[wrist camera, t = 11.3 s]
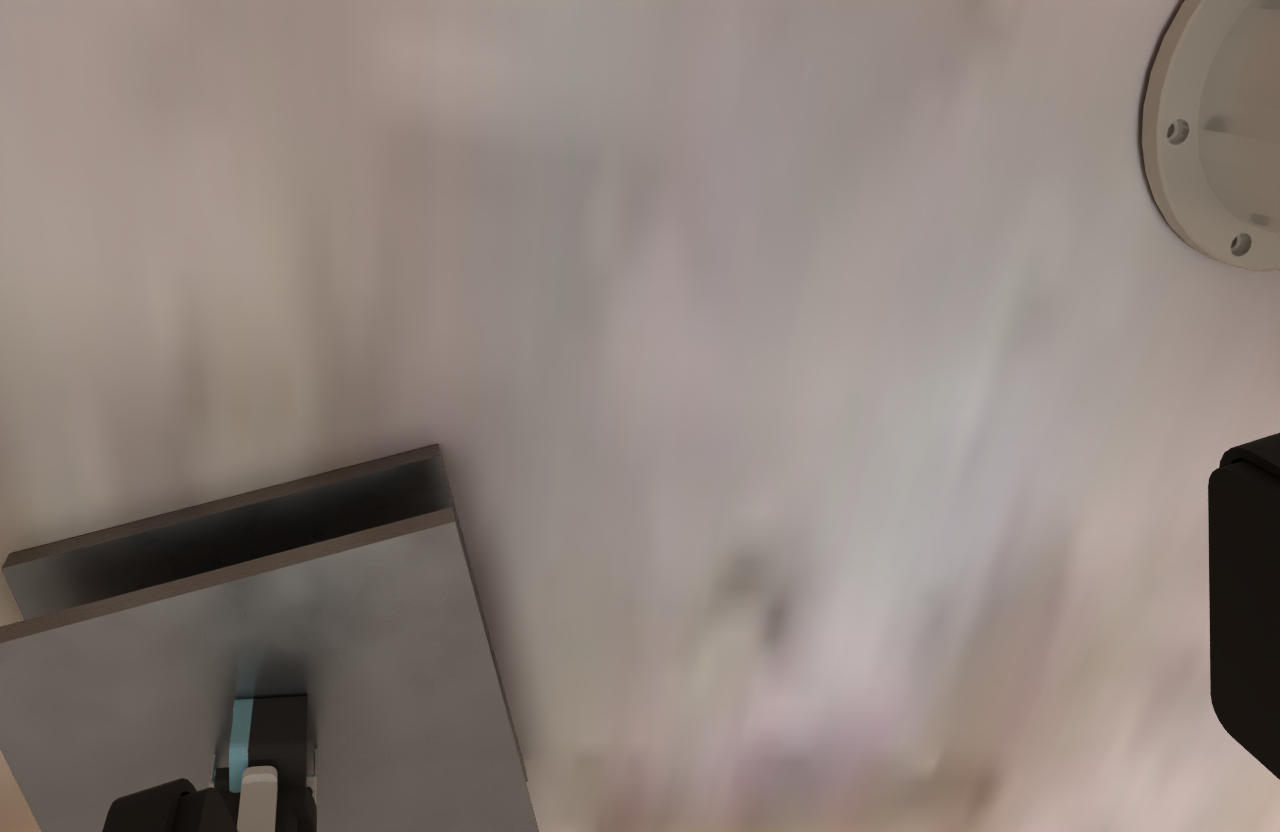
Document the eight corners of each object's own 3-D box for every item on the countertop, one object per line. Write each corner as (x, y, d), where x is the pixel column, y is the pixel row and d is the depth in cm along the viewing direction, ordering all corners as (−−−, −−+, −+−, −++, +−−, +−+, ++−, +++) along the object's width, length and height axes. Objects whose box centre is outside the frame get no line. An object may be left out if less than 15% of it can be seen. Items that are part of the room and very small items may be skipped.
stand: (438, 443, 39) (454, 521, 34) (524, 764, 45) (550, 875, 39) (9, 553, 37) (-46, 655, 32) (156, 876, 43) (130, 1010, 37)
